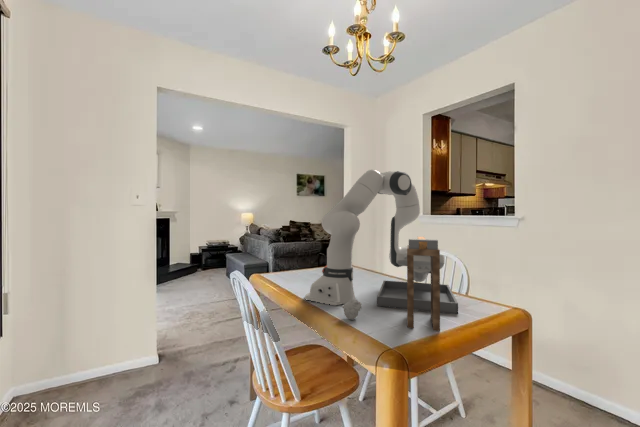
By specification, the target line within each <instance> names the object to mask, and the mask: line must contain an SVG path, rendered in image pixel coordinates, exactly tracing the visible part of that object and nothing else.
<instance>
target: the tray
mask: <svg viewBox="0 0 640 427" xmlns="http://www.w3.org/2000/svg"><path fill="white" fill-rule="evenodd" d="M376 307H380V308H390V309H400V310H401V309H402V310H407V281H396V280H383V282H382V284H381V286H380V289H379V291H378V293H377V296H376ZM414 311H420V312H421V311H423V312H431V283H429V282H428V283H426V282H414ZM441 313H445V314H452V315H455V314H456V315H458V314H459V302H458V301H457V299H456V297H455V295H454V293H453V291H452V289H451V288H450V286H449V284H441V283H440V314H441Z"/></svg>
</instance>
